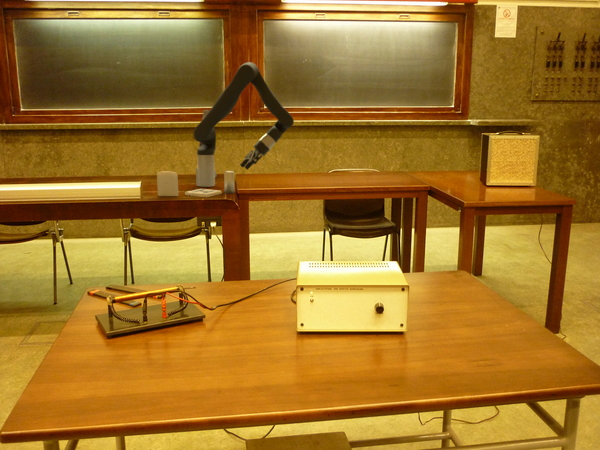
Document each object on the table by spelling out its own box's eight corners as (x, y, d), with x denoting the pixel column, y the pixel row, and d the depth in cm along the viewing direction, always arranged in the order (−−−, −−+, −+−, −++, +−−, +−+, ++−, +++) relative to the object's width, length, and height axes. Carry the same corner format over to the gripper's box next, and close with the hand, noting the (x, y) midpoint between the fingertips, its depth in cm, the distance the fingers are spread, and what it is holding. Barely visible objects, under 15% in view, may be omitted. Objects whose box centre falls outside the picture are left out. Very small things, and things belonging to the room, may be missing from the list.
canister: (222, 193, 299) (222, 171, 297) (228, 191, 303) (227, 170, 301) (230, 193, 297) (230, 172, 294) (236, 192, 301) (235, 171, 299)
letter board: (185, 195, 292) (185, 191, 291) (201, 191, 303) (201, 188, 303) (205, 197, 286) (205, 194, 285) (221, 193, 297) (221, 190, 296)
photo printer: (156, 196, 287) (155, 171, 284) (159, 195, 291) (158, 170, 288) (177, 196, 286) (176, 171, 284) (179, 195, 291) (178, 170, 288)
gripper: (255, 138, 306) (234, 160, 305) (264, 140, 294) (242, 164, 292) (265, 148, 310) (244, 170, 308) (274, 150, 297) (252, 174, 295)
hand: (243, 167), depth 300 cm, fingers open, 8 cm apart
